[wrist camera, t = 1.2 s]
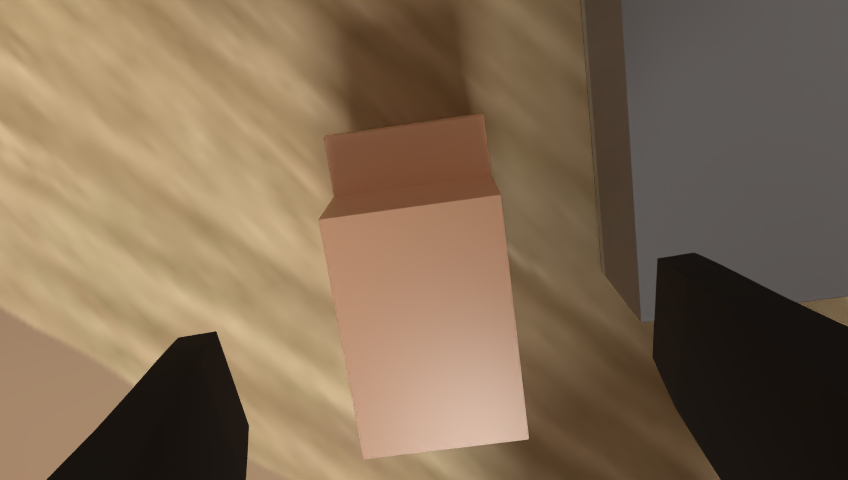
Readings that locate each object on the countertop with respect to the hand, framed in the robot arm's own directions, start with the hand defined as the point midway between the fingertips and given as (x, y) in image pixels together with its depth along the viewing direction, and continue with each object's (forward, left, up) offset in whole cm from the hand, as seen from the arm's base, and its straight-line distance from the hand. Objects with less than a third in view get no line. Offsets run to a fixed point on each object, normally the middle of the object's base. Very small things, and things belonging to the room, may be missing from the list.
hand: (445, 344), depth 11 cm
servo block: (-2, +1, -11) cm, 11 cm away
